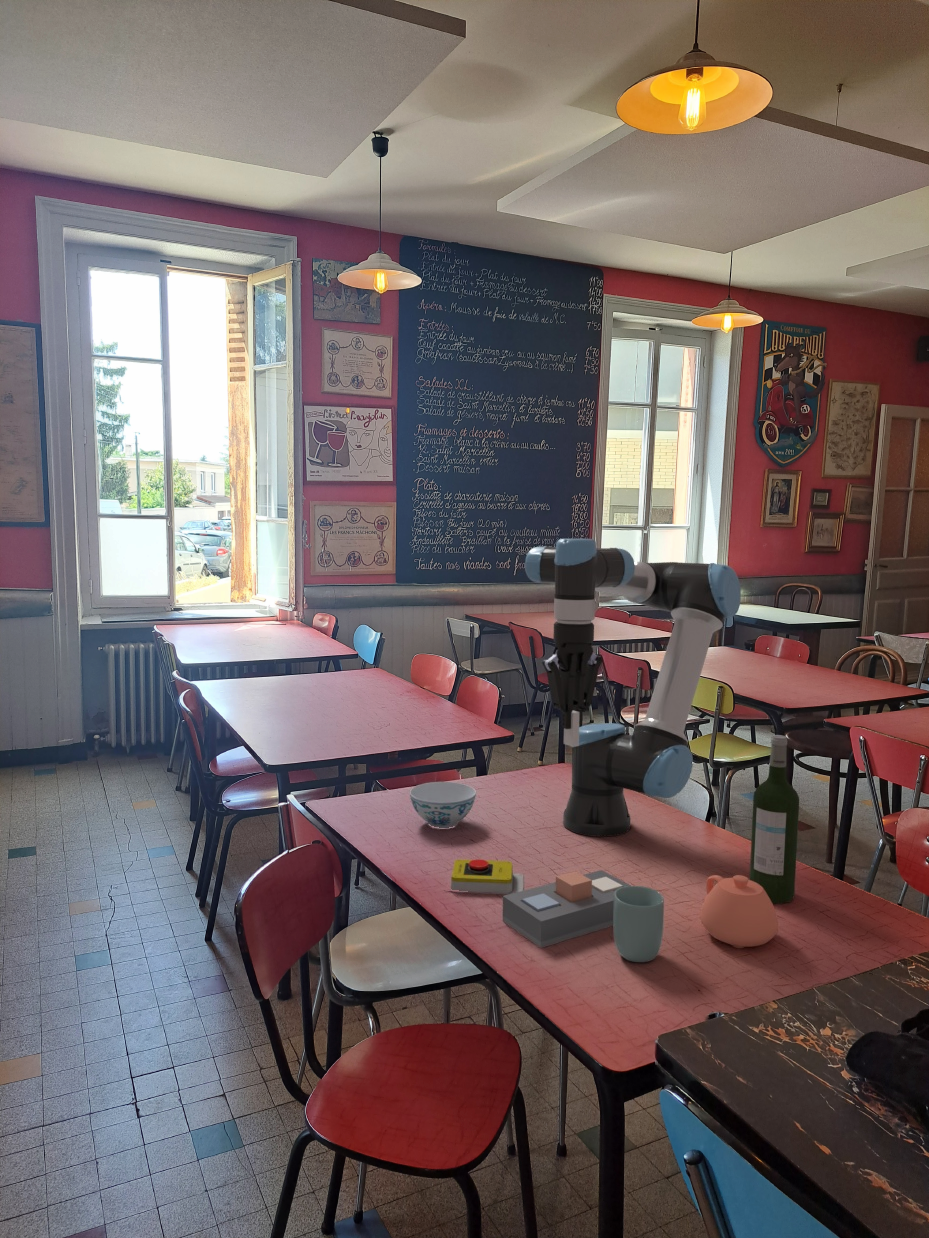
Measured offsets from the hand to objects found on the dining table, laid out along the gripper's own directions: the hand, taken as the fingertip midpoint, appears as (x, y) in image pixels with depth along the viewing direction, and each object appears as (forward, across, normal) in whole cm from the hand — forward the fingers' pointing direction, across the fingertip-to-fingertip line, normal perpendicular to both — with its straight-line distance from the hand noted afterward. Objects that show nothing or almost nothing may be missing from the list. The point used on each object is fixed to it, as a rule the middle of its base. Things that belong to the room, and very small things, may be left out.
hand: (571, 744), depth 163 cm
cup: (+27, +9, +29) cm, 41 cm away
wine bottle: (+27, -28, +25) cm, 46 cm away
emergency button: (+27, +15, -6) cm, 32 cm away
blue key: (+25, +17, +14) cm, 33 cm away
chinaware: (+27, +6, -38) cm, 47 cm away
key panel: (+26, +10, +14) cm, 32 cm away
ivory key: (+25, +3, +14) cm, 29 cm away
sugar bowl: (+27, -10, +32) cm, 43 cm away
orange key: (+23, +10, +14) cm, 28 cm away
